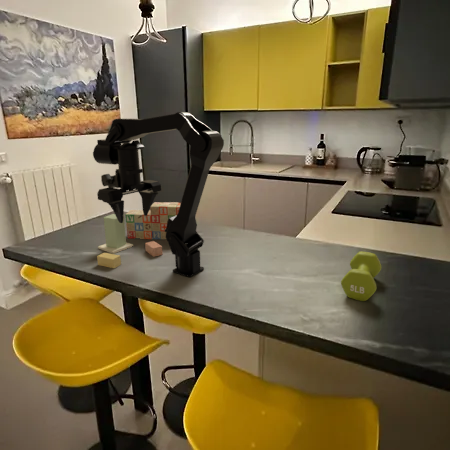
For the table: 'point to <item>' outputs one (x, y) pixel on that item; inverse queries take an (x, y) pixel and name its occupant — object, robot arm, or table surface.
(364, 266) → the dumbbell
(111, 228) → the sage brick
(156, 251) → the terracotta brick
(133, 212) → the stack of blocks
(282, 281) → the table surface
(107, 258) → the ochre brick
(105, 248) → the cream square slab
